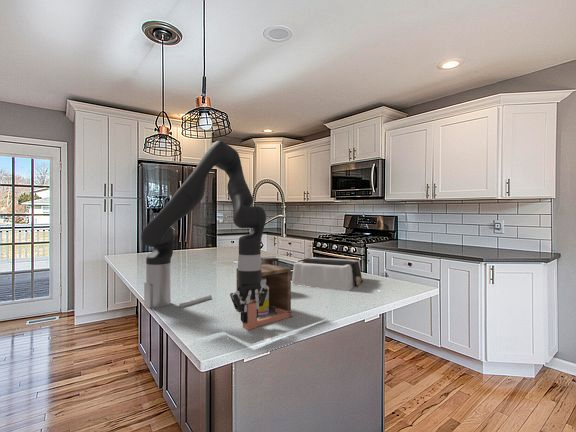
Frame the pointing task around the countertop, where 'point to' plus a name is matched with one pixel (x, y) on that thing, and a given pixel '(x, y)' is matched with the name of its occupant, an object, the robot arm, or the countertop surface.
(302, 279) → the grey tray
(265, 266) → the shelf
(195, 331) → the countertop surface
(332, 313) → the countertop surface
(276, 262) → the coffee box
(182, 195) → the robot arm
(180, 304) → the grey dowel
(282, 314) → the crook
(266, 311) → the supplement bottle
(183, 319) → the countertop surface
